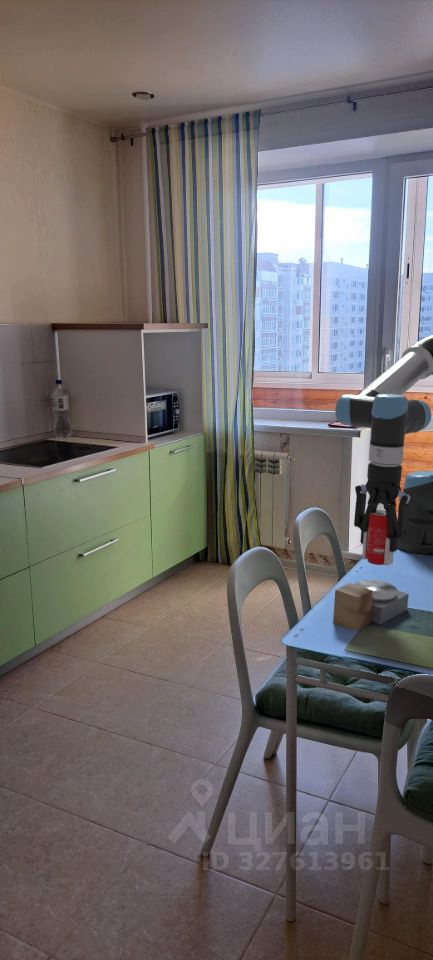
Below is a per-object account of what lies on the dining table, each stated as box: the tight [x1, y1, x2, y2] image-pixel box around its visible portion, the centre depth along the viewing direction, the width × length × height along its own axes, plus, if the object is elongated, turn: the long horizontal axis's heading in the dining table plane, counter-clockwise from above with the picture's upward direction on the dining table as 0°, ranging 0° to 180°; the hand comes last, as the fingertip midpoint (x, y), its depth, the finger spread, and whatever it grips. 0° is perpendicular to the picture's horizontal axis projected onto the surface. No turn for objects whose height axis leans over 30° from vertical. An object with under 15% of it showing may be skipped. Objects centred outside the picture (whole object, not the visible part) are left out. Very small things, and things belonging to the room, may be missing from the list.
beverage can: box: [366, 509, 389, 566], centre depth 162 cm, size 5×5×12 cm
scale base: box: [370, 589, 409, 625], centre depth 166 cm, size 12×11×4 cm
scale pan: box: [354, 579, 398, 602], centre depth 165 cm, size 10×10×2 cm
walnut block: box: [332, 582, 373, 632], centre depth 158 cm, size 6×6×8 cm
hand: (377, 560), depth 164 cm, fingers closed on beverage can, 5 cm apart
